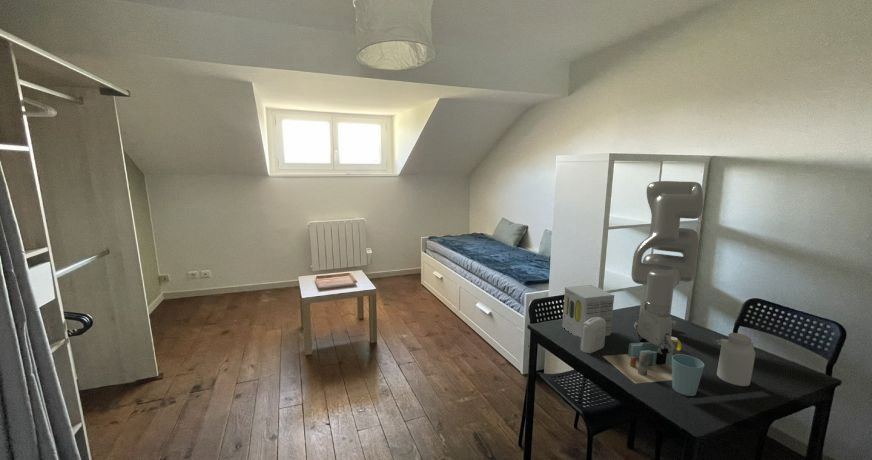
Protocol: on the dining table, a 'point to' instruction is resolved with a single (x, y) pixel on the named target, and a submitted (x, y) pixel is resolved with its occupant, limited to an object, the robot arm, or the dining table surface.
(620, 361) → the board
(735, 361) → the pill bottle
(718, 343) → the power adapter
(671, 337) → the watch
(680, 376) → the cup
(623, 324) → the dining table surface
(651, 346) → the u-shaped channel block
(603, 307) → the supplement box
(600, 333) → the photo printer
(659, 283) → the robot arm
